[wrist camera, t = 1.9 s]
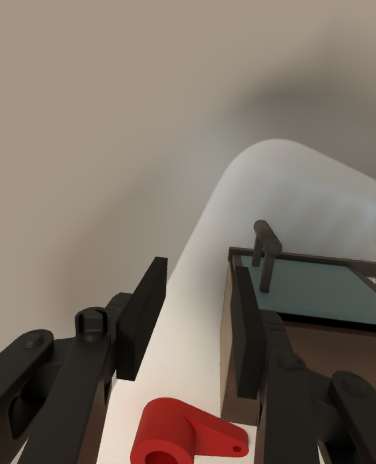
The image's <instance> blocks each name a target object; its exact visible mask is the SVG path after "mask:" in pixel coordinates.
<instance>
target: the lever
mask: <svg viewBox="0 0 376 464" xmlns="http://www.w3.org/2000/svg"><path fill="white" fill-rule="evenodd" d="M248 452H249V447H248V437H247V433H246V431H245V430H243V429H242V428H240V427H237V426H235V425H233V424H231V423H228V422H226V421H221V419H219V418H217V417H215V416H213V415H211V414H208V413H206V412H204V411H202V410H199V409H197V408H195V407H193V406H191V405H188V404H186V403H184V402H182V401H179V400H176V399H173V398H158V399H155V400H153V401H151V402H149V403H148V404H147V405H146V406H145V408H144V410H143V413H142V416H141V420H140V423H139V427H138V430H137V433H136V437H135V440H134V444H133V447H132V450H131V454H130V462H131V464H194V456H195V455H203V456H220V457H244V456H246V455H247V454H248Z"/></svg>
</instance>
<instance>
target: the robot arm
mask: <svg viewBox="0 0 376 464" xmlns="http://www.w3.org/2000/svg"><path fill="white" fill-rule="evenodd" d="M167 262H168V258H163V257H155V259H154V260H153V262H152V264H151V265H150V267H149V268H148V270H147V272H146V273H145V275H144V277H143V278H142V280H141V281H140V283H139V285H138V286H137V288H136V290H135V291H134V293H133V294H129V293H122V292H121V293H119V294H117V295H116V296H114V297H113V298H112V299H111V301H110V302H109V304H108V305H107V306H106V307H105V308H103V307H90V308H87V309H84V310H82V311H80V312H78V313H77V315H76V316H75V328H76V336H75V337H73V338H66V339H56V340H54V337H53V334H52V332H51V331H48V330H44V329H38V330H33V331H29V332H27V333H25V334H23V335H21V336H20V337H18V338H17V339H16V340H15V341H13V342H12V343H11V344H10V345H9V346H8V347H7V348H5V349H4V350H3V351H2V352H1V353H0V464H10V463H11V462H12V460H13V459H14V458H15V456H16V455H17V453H18V452H19V450H20V449H21V448H22V446H23V445H24V443H25V442H26V441H27V439H28V438H29V439H28V441H27V443H26V445H25V447H24V450H23V452H22V454H21V456H20V458H19V461H18V463H17V464H96V462H97V457H98V452H99V447H100V443H101V438H102V433H103V428H104V423H105V418H106V414H107V409H108V404H109V399H110V394H111V389H112V376H113V374H114V372H115V370H116V377H117V379H123V380H129V381H135V379H136V376H137V373H138V371H139V368H140V365H141V362H142V360H143V357H144V354H145V352H146V349H147V346H148V344H149V341H150V338H151V335H152V333H153V330H154V327H155V325H156V322H157V319H158V316H159V314H160V311H161V308H162V306H163V303H164V300H165V298H166V280H167ZM230 311H231V325H232V338H233V352H234V365H235V379H236V392H237V397H240V398H246V399H253V400H257V394H258V390H259V396H260V404H259V409H258V414H257V419H256V424H255V425H256V426H257V432H256V444H255V456H254V464H320V460H319V452H318V446H319V449H320V452H321V455H322V457H323V460H324V463H325V464H376V390H375V389H374V388H373V387H372V386H371V384H370V383H369V382H368V381H366V380H365V379H363V378H362V377H361V376H359V375H357V374H354V373H352V372H349V371H345V370H341V371H336V372H334V373H333V375H332V378H329V377H327V376H324V375H321V374H319V373H316V372H314V371H312V370H310V369H308V368H307V366H306V363H305V361H304V360H303V359H302V358H301V357H300V356H299V355H297V354H296V353H294V350H293V348H292V345H291V342H290V340H289V337H288V334H287V332H286V329H285V327H284V324H283V321H282V319H281V317H280V316H279V315H278V314H277V313H276V312H275V311H273V310H265V309H259V307H258V303H257V299H256V295H255V291H254V287H253V284H252V280H251V276H250V272H249V268H248V267H244V266H235V272H234V280H233V287H232V294H231V302H230ZM317 444H318V445H317Z"/></svg>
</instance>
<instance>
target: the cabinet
mask: <svg viewBox="0 0 376 464" xmlns="http://www.w3.org/2000/svg"><path fill="white" fill-rule="evenodd" d="M253 253H254V249H246V248H236V247H229V252H228V261H229V264H228V272H227V280H226V288H225V296H224V304H223V312H222V319H221V327H220V410H221V421H226V422H232V423H238V424H244V425H251V426H256V425H255V424H256V419H257V414H258V409H259V404H260V396H259V390H258V394H257V400H253V399H246V398H240V397H237V392H236V379H235V365H234V352H233V338H232V325H231V311H230V302H231V294H232V287H233V280H234V268H233V260H232V257H233V254H238V255H244V256H253ZM261 257H262V258H264V257H265V252H264V250H262V254H261ZM275 259H281V260H290V261H299V262H309V263H318V264H327V265H336V266H350V267H355V268H356V269H358V270H359V271H360V272H361V273H362V274H364V275H365V276H367V277H376V262H370V261H360V260H350V259H341V258H331V257H322V256H312V255H303V254H293V253H284V252H281V253H280V254H279V255H278V256H275ZM276 313H277V314H278V315H279V316H280V317H281V319H282V321H283V324H284V327H285V329H286V332H287V334H288V337H289V340H290V342H291V345H292V348H293V350H294V353H296V354H297V355H299V356H300V357H301V358H302V359H303V360H304V361H305V363H306V366H307V368H308V369H310V370H312V371H314V372H316V373H319V374H321V375H324V376H327V377H329V378H332V375H333V373H334V372H336V371H341V370H345V371H349V372H352V373H354V374H357V375H359V376H361V377H362V378H363V379H365V380H366V381H368V382H369V383H370V384H371V386H372V387H373V388H374V389H375V390H376V324H369V323H361V322H353V321H345V320H337V319H329V318H321V317H312V316H304V315H296V314H288V313H280V312H276Z"/></svg>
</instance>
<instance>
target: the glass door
mask: <svg viewBox="0 0 376 464" xmlns="http://www.w3.org/2000/svg"><path fill="white" fill-rule="evenodd" d="M254 230H255V232H256V240H255V246H254V253H253V256H244V255H238V254H233V257H232V260H233V268H234V272H235V266H244V267H248V268H249V272H250V276H251V280H252V284H253V287H254V291H255V295H256V299H257V303H258V307H259V309H265V310H273V311H275V312H280V313H288V314H296V315H304V316H312V317H321V318H329V319H337V320H345V321H353V322H361V323H369V324H376V285H375V284H374V283H373V282H372V281H371V280H369V279H368V278H367V277H366V276H365V275H364V274H362V273H361V272H360V271H359V270H358V269H356V268H355V267H350V266H336V265H327V264H318V263H309V262H299V261H290V260H281V259H275V256H278V255H279V254H280V253H281V252H282V244H281V242H280V241H279V240H278V238H277V237H276V235H275V234H274V232H273V231H272V229H271V228H270V227H269V225H268V224H267V222H266V221H264V220H258V221H256V222H255V224H254ZM262 248H263V250H264V252H265V257H264V258H262V257H261V254H262Z"/></svg>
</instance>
